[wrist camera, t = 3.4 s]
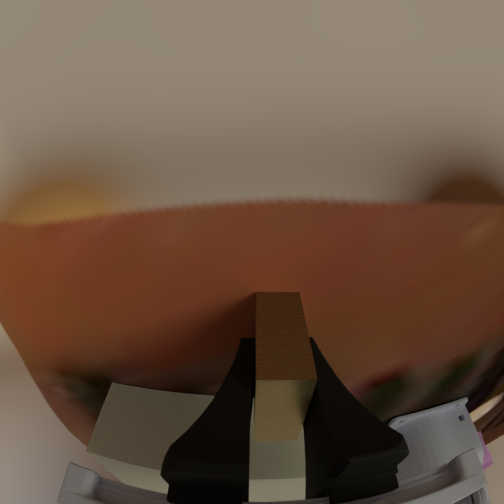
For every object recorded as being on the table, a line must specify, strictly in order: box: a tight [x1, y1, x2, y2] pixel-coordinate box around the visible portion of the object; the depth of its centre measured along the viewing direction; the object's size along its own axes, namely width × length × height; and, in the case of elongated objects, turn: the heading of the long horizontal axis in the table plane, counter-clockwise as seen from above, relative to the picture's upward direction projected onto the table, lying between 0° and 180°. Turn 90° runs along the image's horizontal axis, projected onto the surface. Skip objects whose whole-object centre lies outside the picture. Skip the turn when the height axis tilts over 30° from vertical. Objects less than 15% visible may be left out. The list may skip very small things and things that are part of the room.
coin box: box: [86, 382, 306, 502], centre depth 17 cm, size 16×12×6 cm
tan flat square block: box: [254, 292, 317, 441], centre depth 12 cm, size 2×5×5 cm, turn 179°
